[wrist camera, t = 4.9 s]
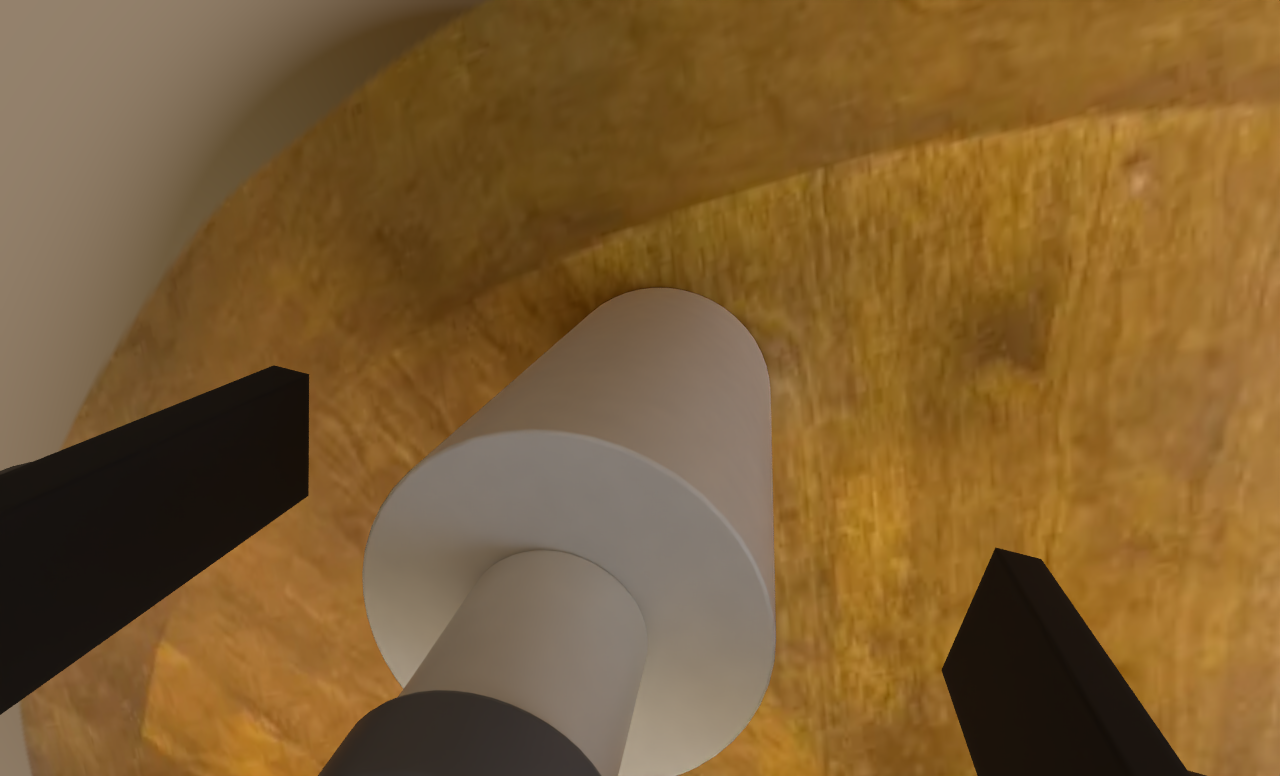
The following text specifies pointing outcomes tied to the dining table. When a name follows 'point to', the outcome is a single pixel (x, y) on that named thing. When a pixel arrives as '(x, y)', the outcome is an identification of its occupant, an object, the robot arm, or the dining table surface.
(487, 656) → the bottle
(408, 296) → the dining table surface
